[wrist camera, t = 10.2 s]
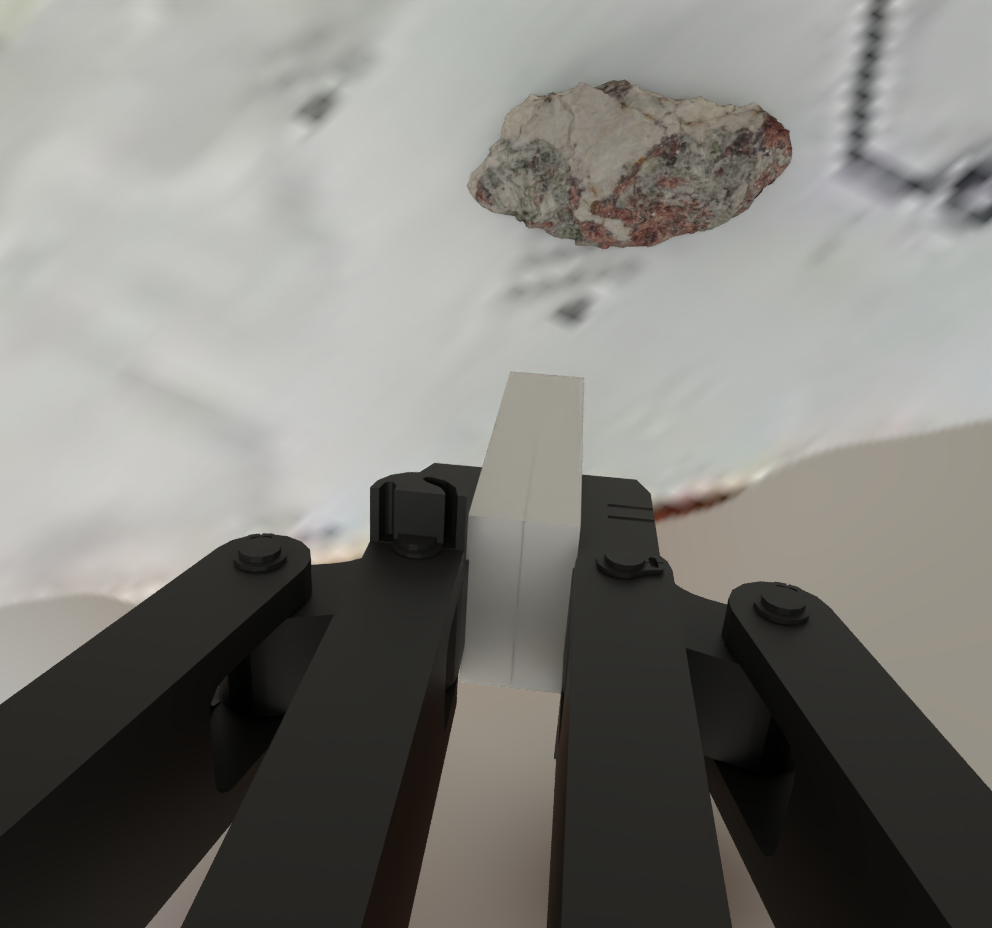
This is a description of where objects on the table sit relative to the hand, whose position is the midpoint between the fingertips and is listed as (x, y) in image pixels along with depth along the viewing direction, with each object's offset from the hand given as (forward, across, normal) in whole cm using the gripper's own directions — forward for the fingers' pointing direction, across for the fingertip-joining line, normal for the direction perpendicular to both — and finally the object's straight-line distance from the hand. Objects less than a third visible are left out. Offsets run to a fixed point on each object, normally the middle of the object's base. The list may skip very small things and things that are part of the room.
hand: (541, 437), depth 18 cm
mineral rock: (+31, +2, +3) cm, 31 cm away
